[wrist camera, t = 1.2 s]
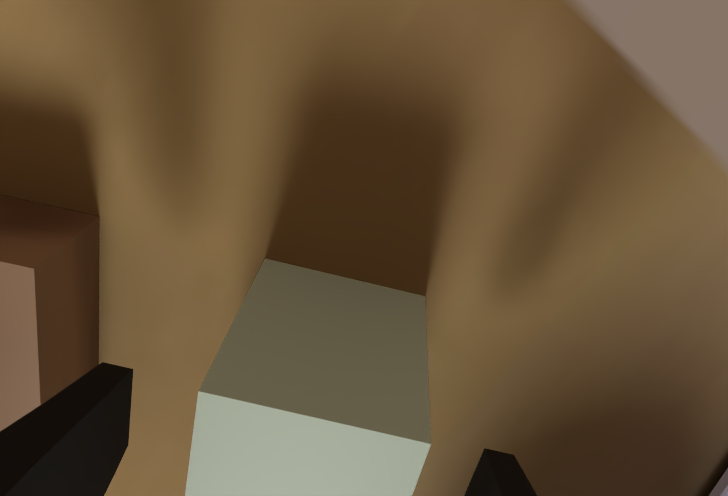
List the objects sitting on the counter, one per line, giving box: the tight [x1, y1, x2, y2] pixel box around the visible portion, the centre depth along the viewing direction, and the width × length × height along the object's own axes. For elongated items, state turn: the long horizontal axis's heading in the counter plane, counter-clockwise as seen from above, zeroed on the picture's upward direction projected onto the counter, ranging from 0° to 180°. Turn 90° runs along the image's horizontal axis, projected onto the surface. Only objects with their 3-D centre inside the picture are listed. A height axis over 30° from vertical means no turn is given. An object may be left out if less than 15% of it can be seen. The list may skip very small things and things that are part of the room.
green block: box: [185, 258, 431, 496], centre depth 13 cm, size 4×4×5 cm
